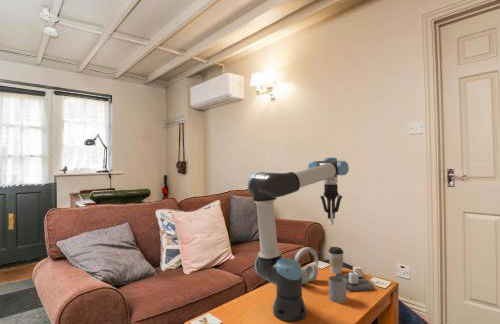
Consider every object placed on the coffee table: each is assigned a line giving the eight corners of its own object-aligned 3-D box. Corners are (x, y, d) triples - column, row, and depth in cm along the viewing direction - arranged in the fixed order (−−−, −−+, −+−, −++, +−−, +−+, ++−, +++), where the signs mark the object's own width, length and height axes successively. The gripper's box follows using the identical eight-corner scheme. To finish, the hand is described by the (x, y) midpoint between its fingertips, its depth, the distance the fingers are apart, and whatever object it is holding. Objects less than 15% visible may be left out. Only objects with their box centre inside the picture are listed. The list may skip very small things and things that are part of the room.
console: (348, 291, 154) (348, 285, 154) (335, 277, 172) (335, 272, 172) (373, 289, 155) (373, 284, 155) (358, 276, 173) (358, 271, 173)
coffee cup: (345, 270, 183) (345, 247, 183) (341, 275, 175) (341, 250, 175) (331, 268, 188) (330, 245, 187) (326, 272, 180) (326, 248, 180)
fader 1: (355, 277, 166) (355, 268, 166) (352, 275, 169) (352, 266, 169) (362, 277, 167) (361, 268, 167) (359, 274, 170) (359, 266, 170)
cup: (347, 303, 141) (346, 283, 141) (329, 302, 143) (329, 282, 143) (345, 295, 150) (344, 276, 150) (328, 294, 151) (328, 275, 151)
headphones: (299, 289, 157) (299, 252, 157) (289, 284, 164) (288, 249, 164) (322, 280, 169) (322, 246, 168) (312, 276, 175) (311, 243, 175)
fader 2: (351, 283, 158) (351, 274, 158) (348, 281, 161) (348, 272, 161) (358, 283, 158) (358, 274, 158) (355, 281, 161) (355, 271, 161)
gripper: (321, 184, 165) (322, 225, 165) (344, 184, 166) (344, 225, 166) (318, 183, 173) (318, 223, 173) (339, 183, 174) (339, 222, 174)
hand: (331, 224), depth 169 cm, fingers closed
